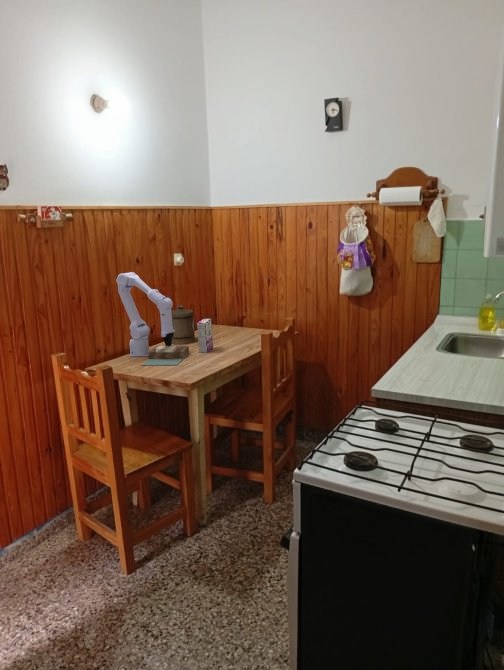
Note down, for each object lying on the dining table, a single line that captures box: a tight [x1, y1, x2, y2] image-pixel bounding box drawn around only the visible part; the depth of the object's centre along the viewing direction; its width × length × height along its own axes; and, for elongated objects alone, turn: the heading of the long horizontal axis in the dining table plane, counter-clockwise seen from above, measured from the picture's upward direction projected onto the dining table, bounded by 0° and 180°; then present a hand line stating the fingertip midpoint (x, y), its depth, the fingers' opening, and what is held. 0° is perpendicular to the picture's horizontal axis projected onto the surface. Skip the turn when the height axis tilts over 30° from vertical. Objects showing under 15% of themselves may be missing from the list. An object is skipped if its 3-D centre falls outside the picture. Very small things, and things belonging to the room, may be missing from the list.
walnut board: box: [148, 345, 190, 360], centre depth 250 cm, size 18×12×4 cm, turn 83°
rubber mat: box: [141, 358, 184, 367], centre depth 239 cm, size 18×11×1 cm, turn 83°
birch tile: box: [156, 345, 177, 353], centre depth 246 cm, size 9×6×2 cm, turn 83°
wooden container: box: [171, 304, 196, 345], centre depth 282 cm, size 15×15×22 cm
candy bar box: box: [196, 318, 214, 354], centre depth 259 cm, size 11×5×16 cm, turn 168°
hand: (168, 347), depth 250 cm, fingers closed
